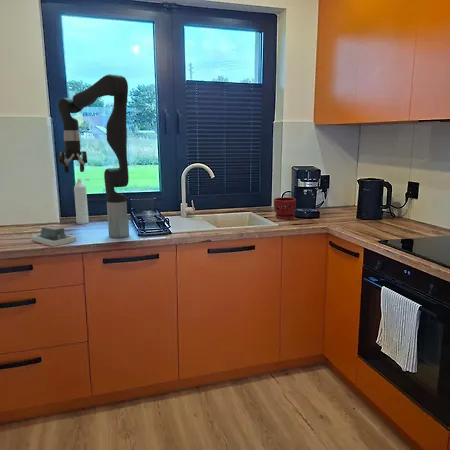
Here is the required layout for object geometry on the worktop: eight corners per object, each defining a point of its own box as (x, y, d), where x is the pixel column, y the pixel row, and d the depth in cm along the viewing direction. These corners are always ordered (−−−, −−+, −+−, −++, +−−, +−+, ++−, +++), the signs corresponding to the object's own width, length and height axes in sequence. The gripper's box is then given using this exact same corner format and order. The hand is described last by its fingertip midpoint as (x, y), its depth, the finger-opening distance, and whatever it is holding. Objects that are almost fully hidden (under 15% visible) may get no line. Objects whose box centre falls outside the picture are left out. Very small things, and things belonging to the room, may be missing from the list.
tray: (76, 241, 194) (75, 232, 193) (52, 246, 185) (51, 237, 184) (55, 235, 205) (54, 227, 204) (31, 240, 196) (30, 231, 195)
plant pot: (282, 215, 257) (283, 196, 255) (299, 218, 248) (300, 198, 245) (268, 218, 249) (269, 198, 246) (285, 221, 239) (286, 201, 237)
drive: (64, 238, 194) (64, 228, 193) (55, 240, 190) (54, 230, 189) (51, 235, 200) (50, 225, 198) (42, 238, 195) (41, 227, 194)
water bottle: (75, 224, 231) (72, 179, 226) (77, 221, 237) (74, 178, 232) (92, 223, 233) (89, 179, 227) (93, 221, 239) (90, 177, 234)
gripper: (80, 139, 214) (82, 171, 218) (54, 139, 203) (57, 173, 207) (88, 139, 210) (91, 171, 213) (63, 140, 199) (66, 174, 202)
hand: (74, 172), depth 210 cm, fingers open, 8 cm apart
